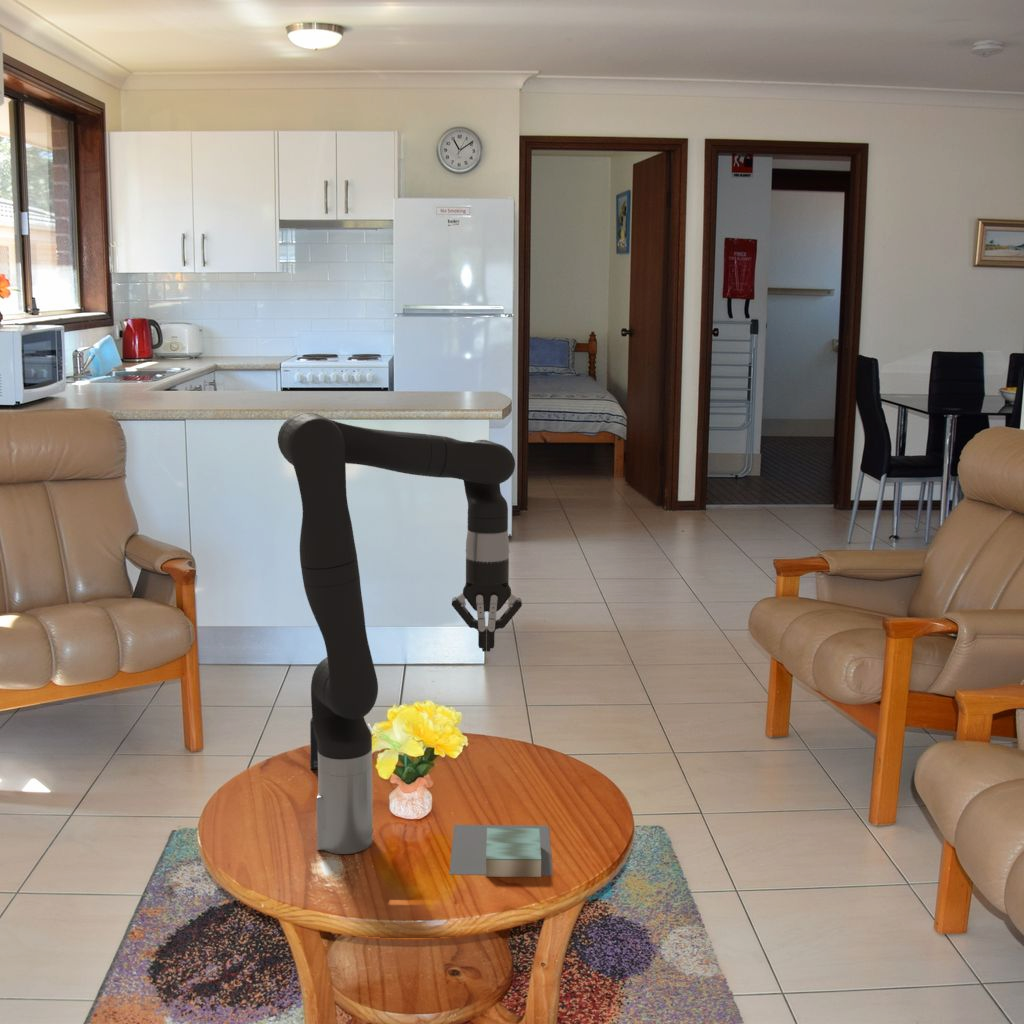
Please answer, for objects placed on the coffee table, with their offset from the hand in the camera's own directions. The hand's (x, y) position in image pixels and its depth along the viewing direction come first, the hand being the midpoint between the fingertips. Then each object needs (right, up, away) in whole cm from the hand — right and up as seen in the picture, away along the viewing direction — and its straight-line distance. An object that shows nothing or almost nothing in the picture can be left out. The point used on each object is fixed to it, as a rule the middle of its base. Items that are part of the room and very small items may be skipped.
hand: (486, 650), depth 207 cm
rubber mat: (+3, -34, -7) cm, 35 cm away
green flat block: (+5, -32, -6) cm, 32 cm away
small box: (-33, -26, +31) cm, 52 cm away
